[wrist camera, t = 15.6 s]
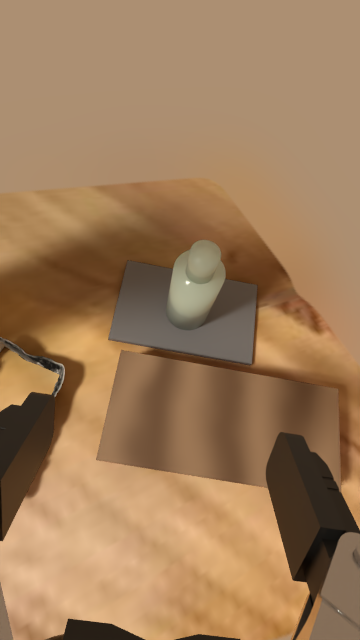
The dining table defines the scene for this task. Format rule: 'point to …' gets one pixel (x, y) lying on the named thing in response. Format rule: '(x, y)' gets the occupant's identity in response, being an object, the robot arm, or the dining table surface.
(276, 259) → the dining table surface
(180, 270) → the celadon bottle
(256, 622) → the dining table surface
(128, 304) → the charcoal mat
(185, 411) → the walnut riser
